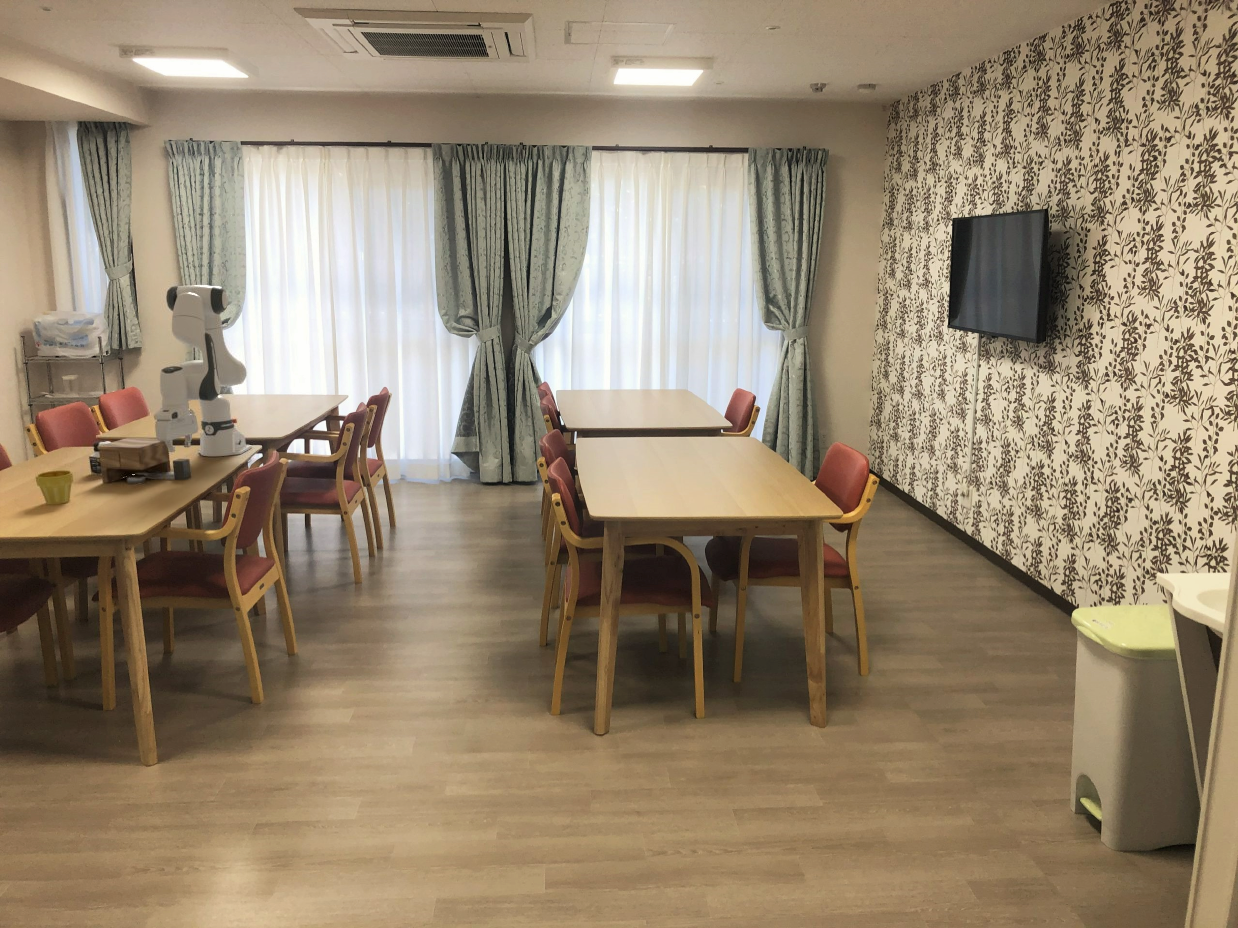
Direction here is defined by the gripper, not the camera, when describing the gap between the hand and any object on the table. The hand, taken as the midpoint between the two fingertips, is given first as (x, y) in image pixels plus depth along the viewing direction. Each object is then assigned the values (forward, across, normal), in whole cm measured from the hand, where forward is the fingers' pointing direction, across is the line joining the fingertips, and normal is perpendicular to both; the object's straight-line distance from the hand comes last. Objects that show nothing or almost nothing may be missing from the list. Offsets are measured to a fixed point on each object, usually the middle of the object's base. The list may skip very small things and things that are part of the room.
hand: (179, 449), depth 332 cm
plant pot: (+12, +37, -20) cm, 44 cm away
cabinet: (+11, +2, -16) cm, 20 cm away
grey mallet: (+11, -1, -8) cm, 14 cm away
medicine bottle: (+11, -5, -34) cm, 36 cm away
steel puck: (+11, +7, -13) cm, 19 cm away
